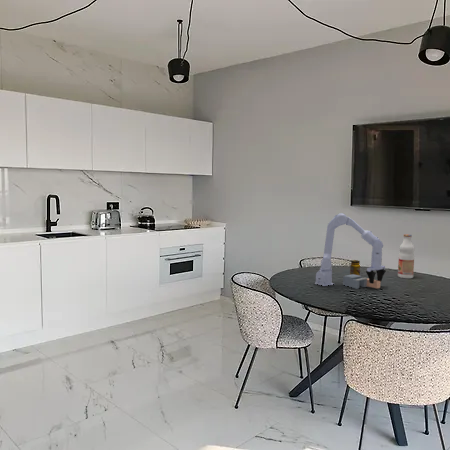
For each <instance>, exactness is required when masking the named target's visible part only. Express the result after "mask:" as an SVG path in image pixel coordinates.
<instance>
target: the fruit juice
mask: <svg viewBox="0 0 450 450" xmlns="http://www.w3.org/2000/svg"><path fill="white" fill-rule="evenodd" d="M414 253H415V245H414V243H413V242H412V234H407V233H406V234H403V239H402V243H401V244H400V245H399V253H398V266H397V277H398V278H401V279H413V278H414V269H415V268H414V267H415V254H414Z"/></svg>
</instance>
